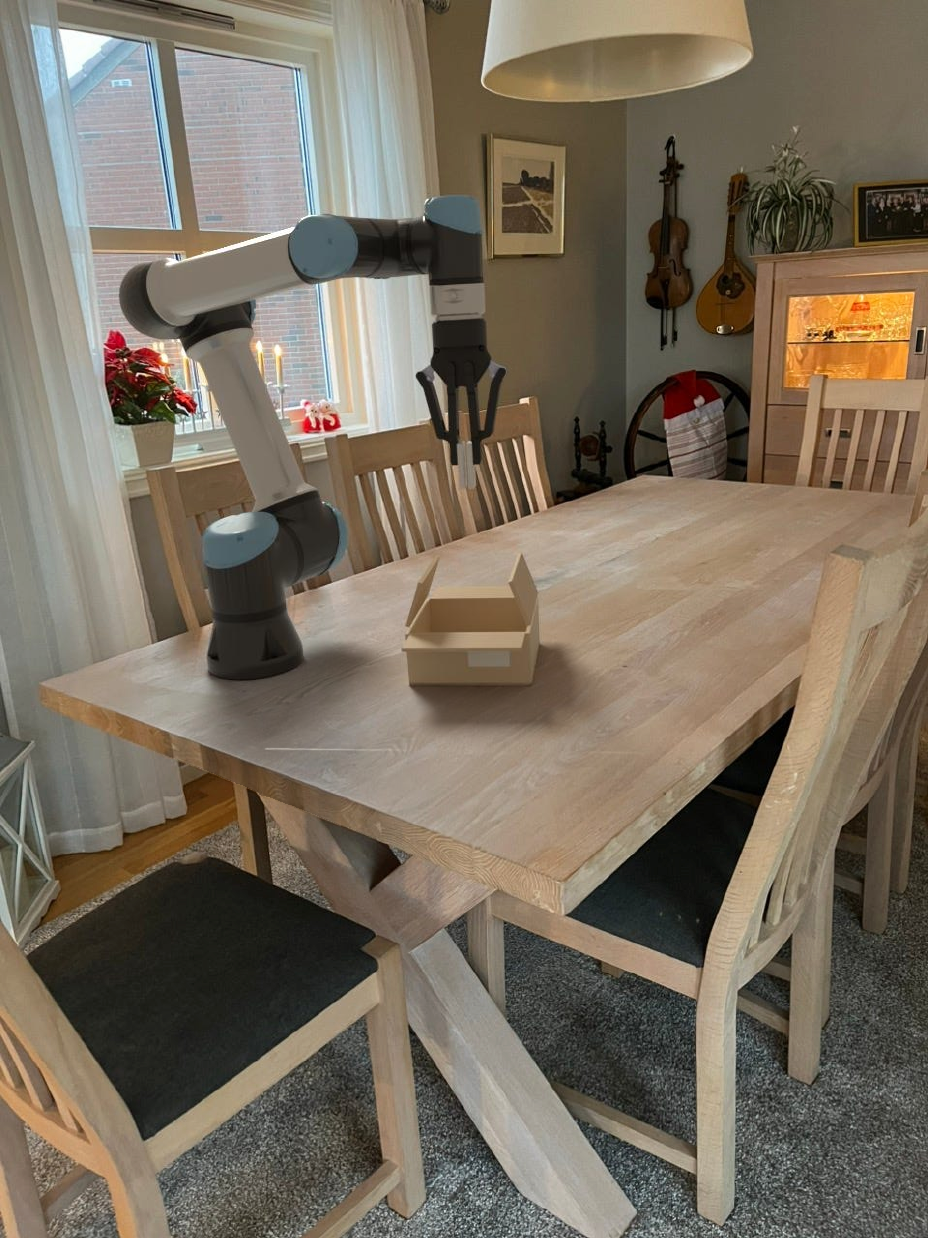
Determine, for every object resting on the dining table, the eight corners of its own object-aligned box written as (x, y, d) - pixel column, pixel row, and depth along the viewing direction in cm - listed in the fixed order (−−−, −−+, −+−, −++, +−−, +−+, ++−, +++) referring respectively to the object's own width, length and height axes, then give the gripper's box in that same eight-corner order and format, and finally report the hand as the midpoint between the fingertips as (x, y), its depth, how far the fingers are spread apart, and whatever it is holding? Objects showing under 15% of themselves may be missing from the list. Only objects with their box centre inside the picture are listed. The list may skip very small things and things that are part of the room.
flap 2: (526, 626, 138) (508, 582, 136) (534, 593, 153) (518, 553, 151) (530, 625, 138) (512, 580, 136) (538, 592, 153) (521, 552, 151)
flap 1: (405, 626, 141) (418, 582, 138) (424, 594, 156) (436, 554, 153) (409, 627, 141) (422, 583, 138) (428, 595, 156) (440, 555, 153)
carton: (400, 701, 137) (396, 648, 134) (436, 632, 165) (433, 587, 162) (528, 702, 134) (526, 647, 132) (542, 631, 162) (540, 585, 160)
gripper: (404, 321, 131) (417, 493, 139) (505, 315, 129) (512, 490, 136) (415, 319, 138) (426, 484, 146) (510, 314, 136) (516, 481, 144)
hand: (467, 487), depth 141 cm, fingers closed
